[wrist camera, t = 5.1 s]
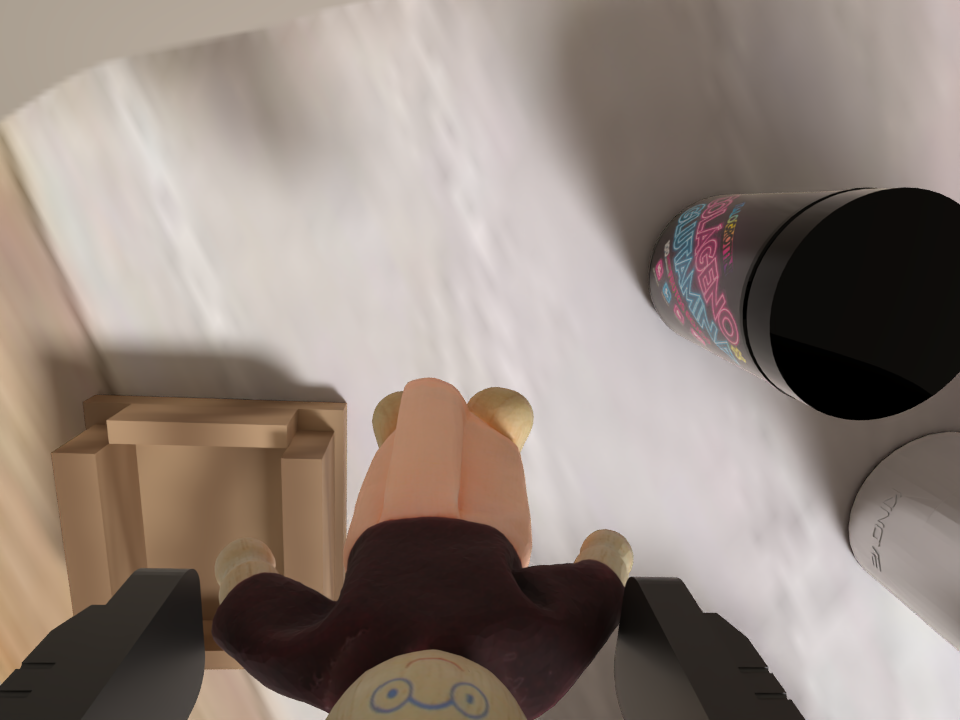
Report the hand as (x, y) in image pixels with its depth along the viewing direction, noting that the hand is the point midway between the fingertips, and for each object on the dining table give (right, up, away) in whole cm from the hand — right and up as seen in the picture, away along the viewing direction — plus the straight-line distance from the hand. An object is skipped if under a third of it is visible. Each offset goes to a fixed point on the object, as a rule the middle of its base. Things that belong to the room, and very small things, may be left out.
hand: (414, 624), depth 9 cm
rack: (-11, -3, +19) cm, 22 cm away
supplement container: (+12, +8, +18) cm, 23 cm away
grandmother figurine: (0, +2, +8) cm, 8 cm away
